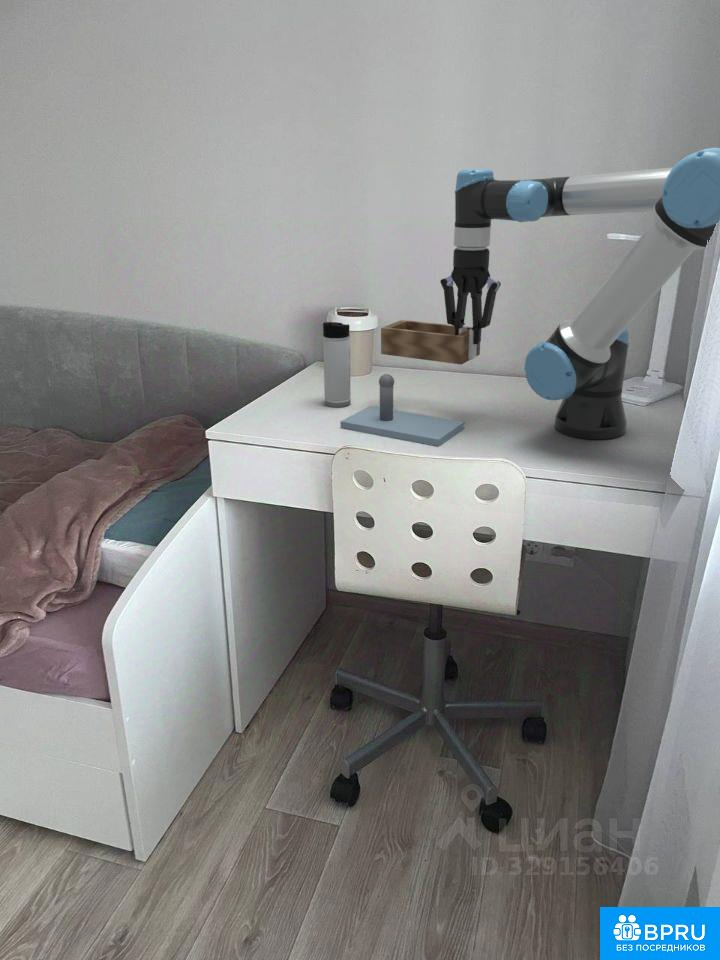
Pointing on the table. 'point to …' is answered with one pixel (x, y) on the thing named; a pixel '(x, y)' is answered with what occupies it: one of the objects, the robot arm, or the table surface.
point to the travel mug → (336, 364)
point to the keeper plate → (401, 421)
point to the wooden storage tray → (426, 342)
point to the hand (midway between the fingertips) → (467, 357)
